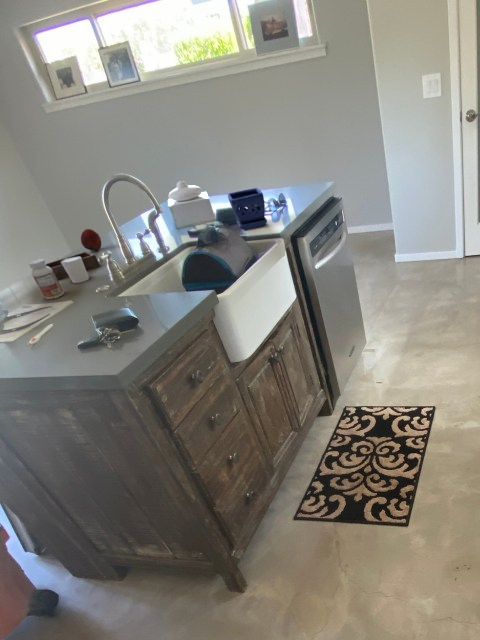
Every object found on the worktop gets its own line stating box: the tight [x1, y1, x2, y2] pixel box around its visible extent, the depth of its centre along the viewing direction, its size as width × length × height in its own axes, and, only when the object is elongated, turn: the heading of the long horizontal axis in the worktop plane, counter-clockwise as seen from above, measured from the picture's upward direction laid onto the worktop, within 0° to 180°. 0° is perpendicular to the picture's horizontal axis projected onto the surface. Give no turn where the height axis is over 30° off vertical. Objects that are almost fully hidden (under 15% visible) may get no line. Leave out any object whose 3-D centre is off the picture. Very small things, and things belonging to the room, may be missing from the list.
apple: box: [80, 228, 102, 252], centre depth 212 cm, size 7×8×8 cm
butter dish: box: [167, 180, 217, 230], centre depth 229 cm, size 18×18×16 cm
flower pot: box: [227, 187, 268, 231], centre depth 210 cm, size 13×13×12 cm
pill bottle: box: [28, 258, 65, 300], centre depth 170 cm, size 6×6×11 cm
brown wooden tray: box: [46, 251, 101, 281], centre depth 193 cm, size 18×10×4 cm, turn 134°
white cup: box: [61, 257, 90, 284], centre depth 182 cm, size 7×7×7 cm
